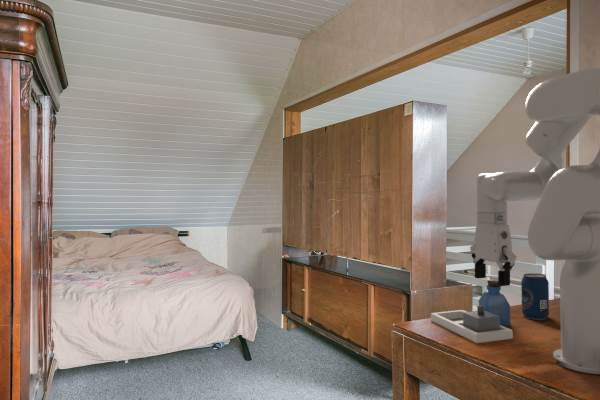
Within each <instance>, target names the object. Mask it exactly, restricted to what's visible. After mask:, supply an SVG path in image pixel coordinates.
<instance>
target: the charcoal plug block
mask: <svg viewBox="0 0 600 400" xmlns="http://www.w3.org/2000/svg"><path fill="white" fill-rule="evenodd" d="M476 306H477V310H473V311H467V312H463V326H464V327H466V328H468V329H470V330H473V331H475V332H477V333H479V332H488V331H496V330H500V316H498V315H495V314H492V313H490V312H487V311H484V306H481V305H479V304H478V305H476Z"/></svg>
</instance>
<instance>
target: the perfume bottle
mask: <svg viewBox="0 0 600 400" xmlns="http://www.w3.org/2000/svg"><path fill="white" fill-rule="evenodd" d="M486 283H487V285H486V290H487V291H485V292H483V293H482V295H481V296H480V298H479V299H478V306H479V305H481V306H484V311H487V312H490V313H492V314H495V315H498V316H500V325H501V326H511V305H510V303H509V302H508V300H507V298H506V296H505V294H503V293H501V292H500V291H501V289H502V286H499V285H498V280H493V279H492V280H491V279H490V280H487V282H486Z"/></svg>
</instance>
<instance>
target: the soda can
mask: <svg viewBox="0 0 600 400" xmlns="http://www.w3.org/2000/svg"><path fill="white" fill-rule="evenodd" d="M520 283H521V287H520V289H521V312H522V314H523V316H524V317H525V318H526V319H528V320H537V321H542V320H546V319H548V317H549V315H550V293H549V292H550V290H549V289H550V287H549V280H548V278H547V275H545V274H542V273H524V274H523V277H522V279H521V282H520Z"/></svg>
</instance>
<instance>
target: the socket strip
mask: <svg viewBox="0 0 600 400" xmlns="http://www.w3.org/2000/svg"><path fill="white" fill-rule="evenodd" d="M463 312H468V311H466V310H464V309H459V310H458V309H457V310H449V311H448V310H447V311H439V312H431V313H430V321H431V322H433V323H435V324H437V325H439V326H442V327H443V328H445V329H447V330H448V331H451V332H453V333H455V334H457V335H459V336H462V337H463V338H466V339H467V340H469V341H471V342H474V343H475V344H480V343H487V342H488V343H489V342H495V341H503V340H510V339H511V340H513V339H514V334H513V329H511V328H509V327H506V326H505V325H500V330H496V331H488V332H479V333H477V332H475V331H473V330H470V329H468V328H466V327H464V326H463Z"/></svg>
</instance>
